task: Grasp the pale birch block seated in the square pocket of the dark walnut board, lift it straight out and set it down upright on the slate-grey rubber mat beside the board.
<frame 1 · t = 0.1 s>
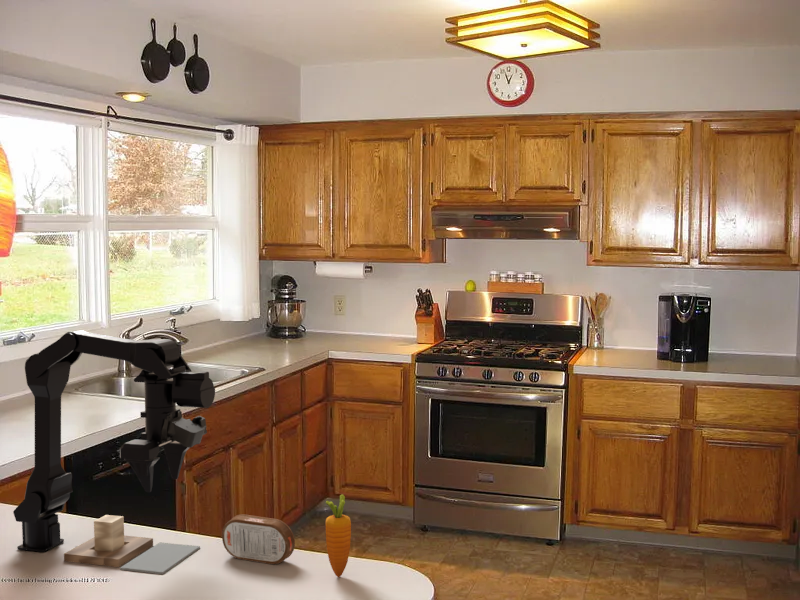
hand: (162, 485, 163), 15 cm above the counter, fingers open, 9 cm apart
block: (109, 536, 167), in the pocket board
pocket board: (109, 553, 168), on the counter
mat: (161, 558, 165), on the counter
carrot: (338, 578, 155), on the counter
tin: (257, 561, 164), on the counter
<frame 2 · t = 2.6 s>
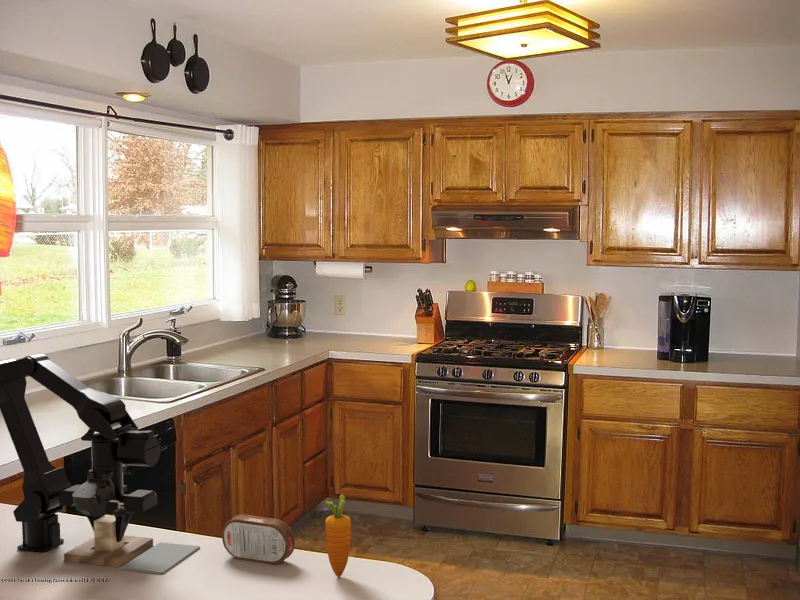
hand: (109, 540, 167), 3 cm above the counter, fingers closed on block, 4 cm apart
block: (109, 535, 167), in the pocket board, touching gripper
everything else where it was.
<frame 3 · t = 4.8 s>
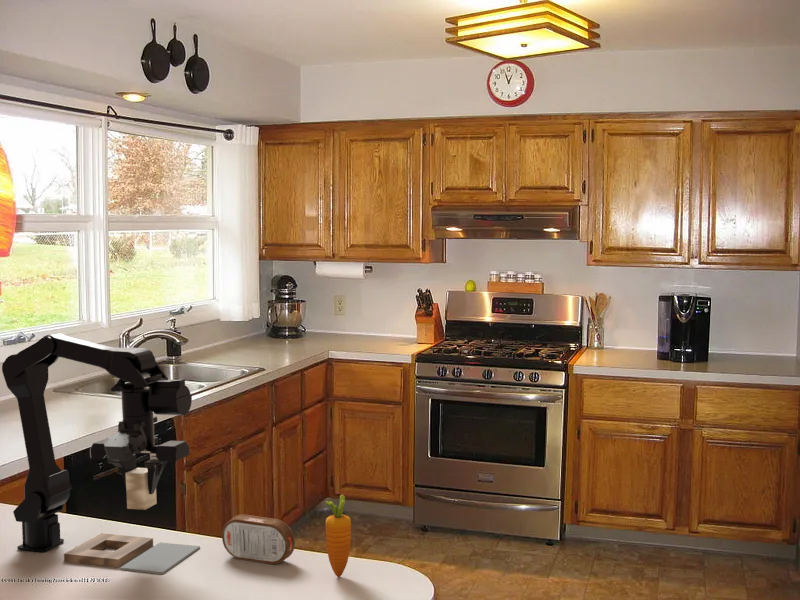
hand: (141, 493, 165), 13 cm above the counter, fingers closed on block, 4 cm apart
block: (141, 488, 165), point 14 cm above the counter, touching gripper
everything else where it was.
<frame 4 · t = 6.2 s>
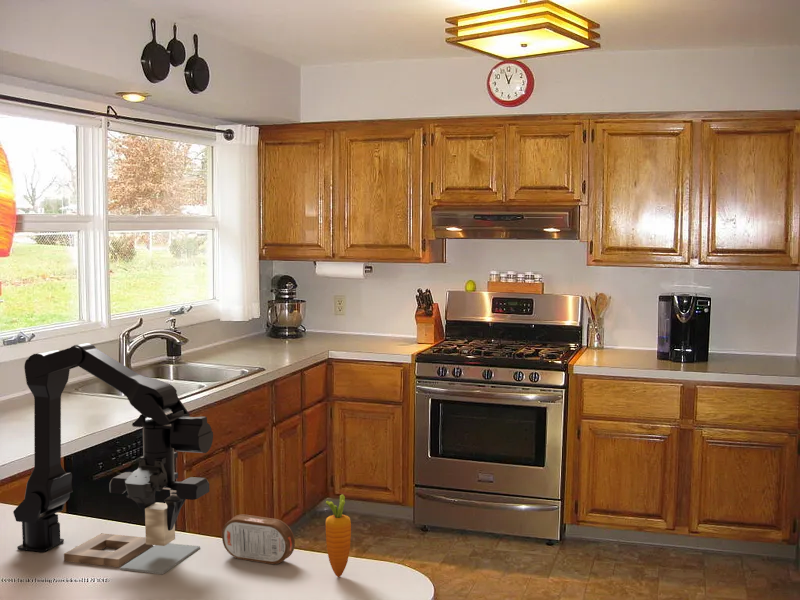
hand: (160, 528, 164), 6 cm above the counter, fingers closed on block, 4 cm apart
block: (160, 523, 164), point 7 cm above the counter, touching gripper
everything else where it was.
when the fingers open (4 cm above the counter, at t = 7.3 s): block drops 1 cm, resting on mat.
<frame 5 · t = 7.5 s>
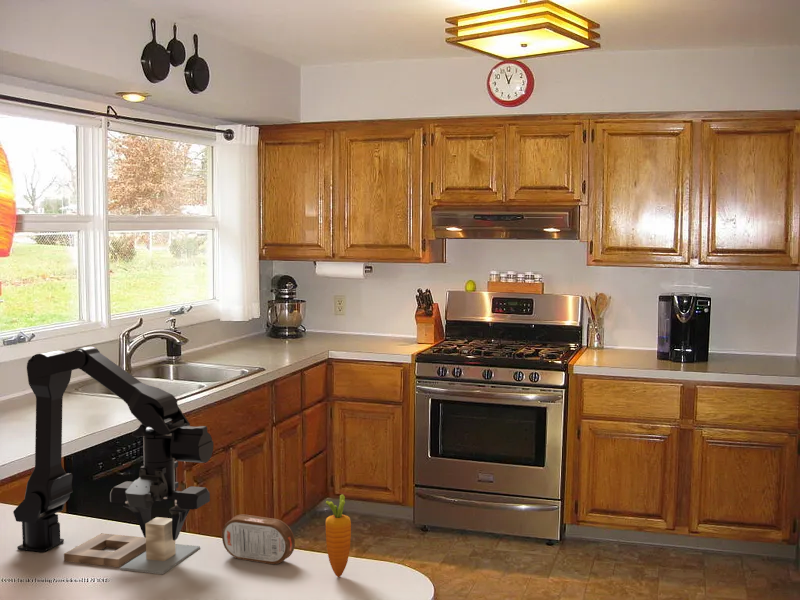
hand: (160, 538, 164), 4 cm above the counter, fingers open, 6 cm apart
block: (160, 538, 164), on the mat
everything else where it was.
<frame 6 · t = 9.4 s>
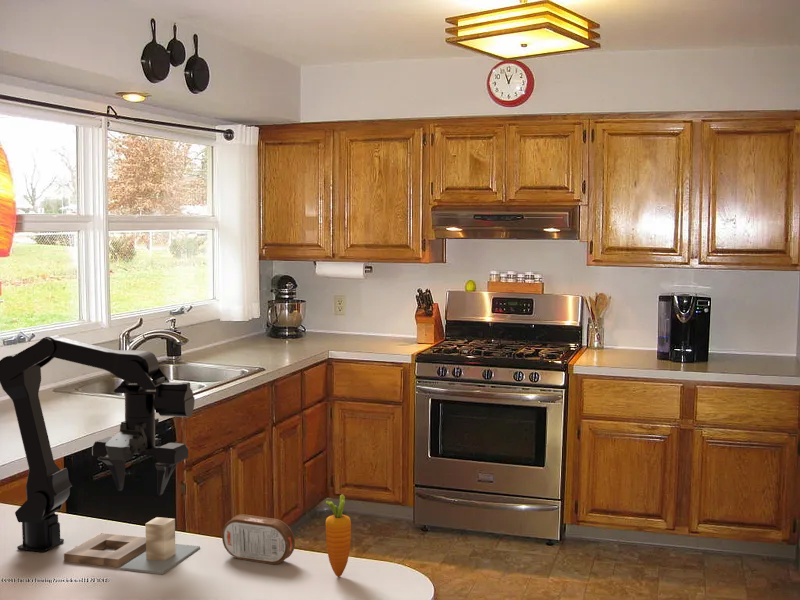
hand: (140, 492, 169), 12 cm above the counter, fingers open, 9 cm apart
nothing on the counter moved.
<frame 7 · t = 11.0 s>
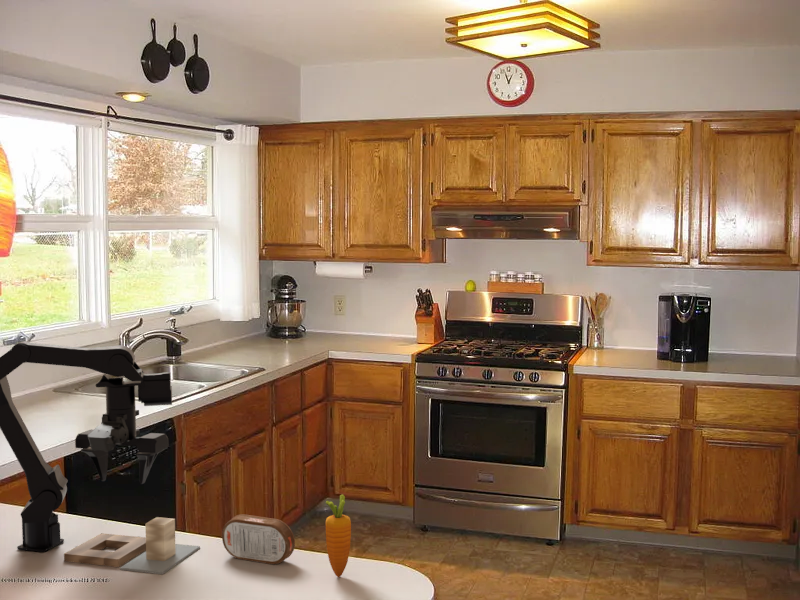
hand: (122, 481, 175), 12 cm above the counter, fingers open, 9 cm apart
nothing on the counter moved.
at the end: block 0.1 cm off-centre on the mat, point 3.9 cm above the mat's base; block tilted 0°; the gripper is holding nothing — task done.
